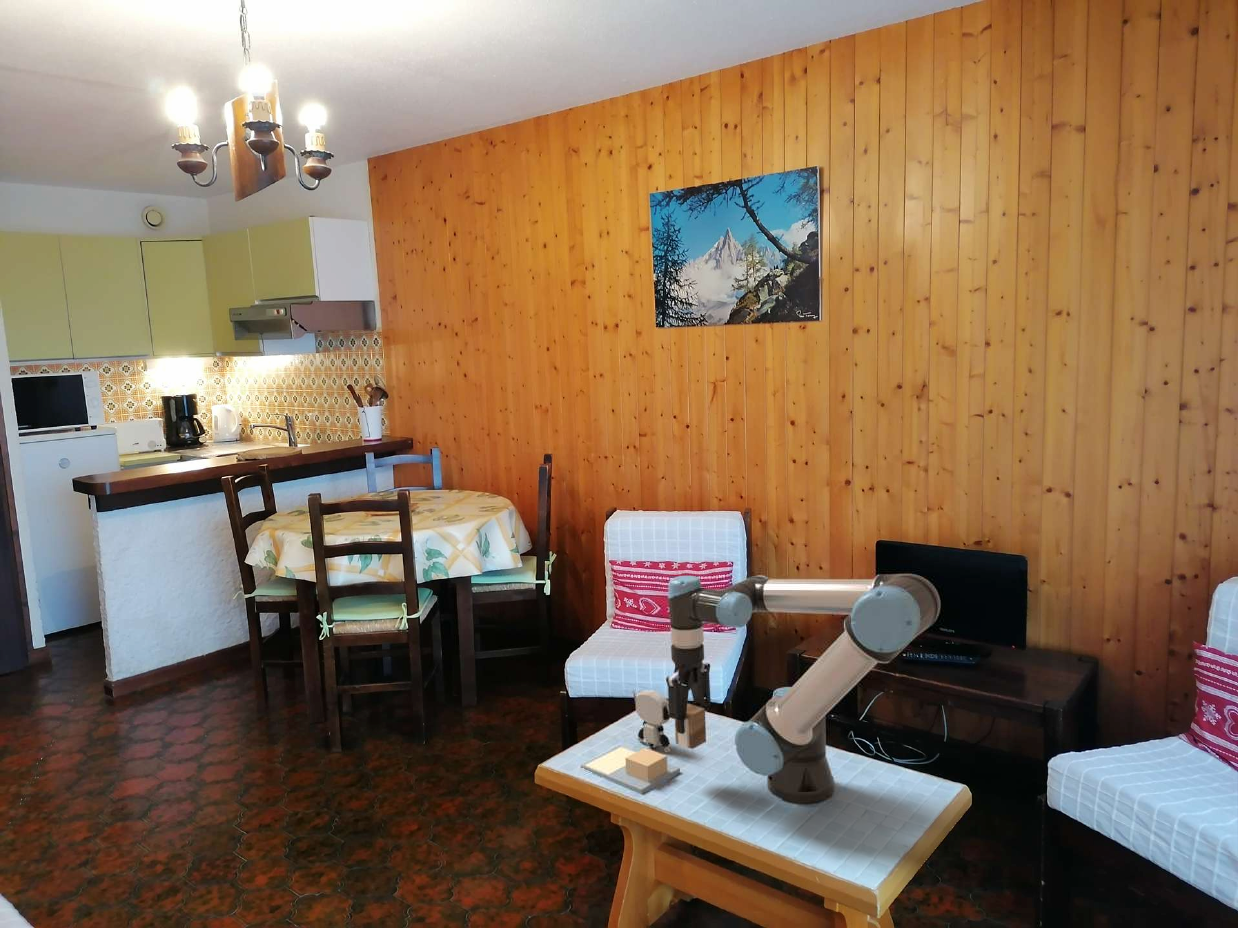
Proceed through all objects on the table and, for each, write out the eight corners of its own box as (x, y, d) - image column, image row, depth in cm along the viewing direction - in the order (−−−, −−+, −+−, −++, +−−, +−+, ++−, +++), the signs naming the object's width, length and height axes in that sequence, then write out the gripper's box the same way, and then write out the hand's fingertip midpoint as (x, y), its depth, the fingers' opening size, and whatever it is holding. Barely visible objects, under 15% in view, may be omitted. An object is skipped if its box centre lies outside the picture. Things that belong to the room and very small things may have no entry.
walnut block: (706, 741, 204) (704, 708, 203) (692, 748, 200) (691, 715, 200) (689, 736, 207) (688, 703, 207) (675, 743, 204) (674, 710, 203)
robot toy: (679, 751, 223) (677, 694, 222) (666, 756, 220) (664, 699, 218) (644, 737, 232) (642, 683, 230) (632, 743, 229) (630, 687, 227)
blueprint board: (680, 772, 211) (679, 751, 211) (641, 794, 201) (640, 772, 201) (619, 749, 225) (619, 730, 225) (580, 769, 215) (579, 749, 214)
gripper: (698, 631, 210) (703, 724, 213) (649, 651, 197) (654, 750, 200) (723, 636, 205) (728, 732, 208) (674, 657, 192) (679, 758, 195)
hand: (691, 740), depth 204 cm, fingers closed on walnut block, 5 cm apart
